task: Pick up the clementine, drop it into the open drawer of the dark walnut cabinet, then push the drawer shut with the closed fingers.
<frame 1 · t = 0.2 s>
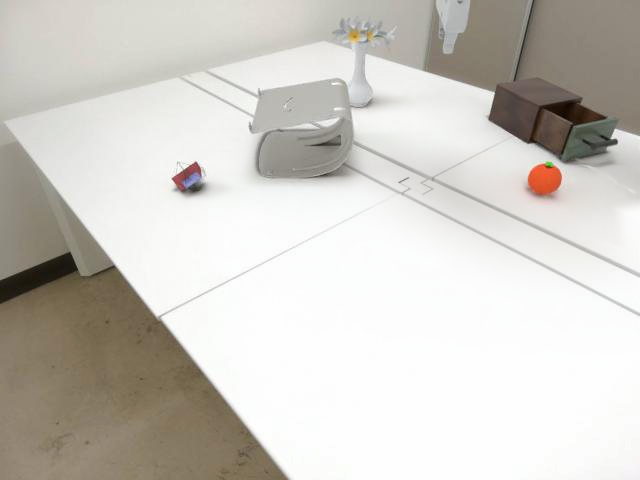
hand: (444, 45, 88), 31 cm above the table, tool pointing down, fingers open, 8 cm apart
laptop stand: (303, 154, 119), on the table
flower vase: (359, 103, 145), on the table
geometric puzzle: (191, 189, 106), on the table
clementine: (539, 191, 104), on the table
cabinet: (527, 126, 131), on the table
drawer: (574, 130, 116), point 5 cm above the table, slide at 11.0 cm
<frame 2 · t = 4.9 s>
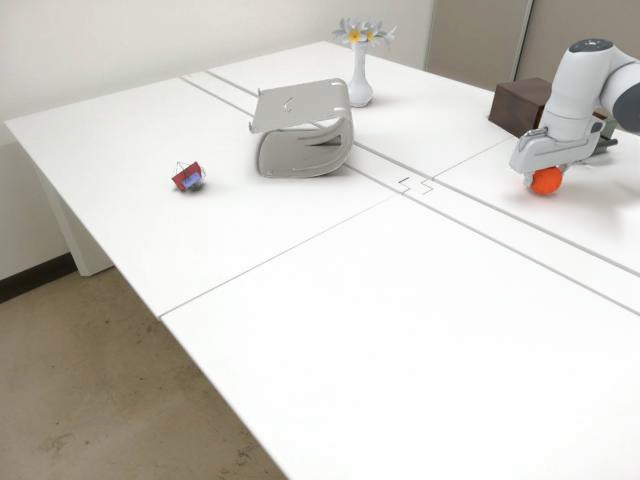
hand: (542, 181, 103), 3 cm above the table, tool pointing down, fingers closed on clementine, 7 cm apart
clementine: (539, 191, 104), on the table, touching gripper
everything else where it was.
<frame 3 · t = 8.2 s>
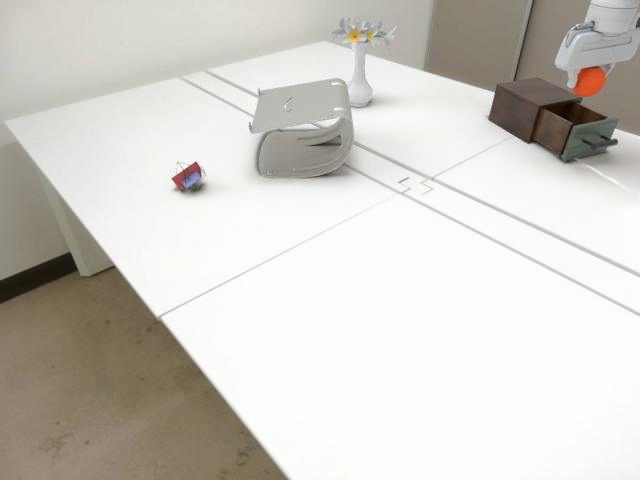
hand: (585, 84, 105), 19 cm above the table, tool pointing down, fingers closed on clementine, 7 cm apart
clementine: (582, 95, 107), point 16 cm above the table, touching gripper
everything else where it was.
when the fingers open (9 cm above the table, at t = 12.0 s): clementine stays where it is, resting on drawer.
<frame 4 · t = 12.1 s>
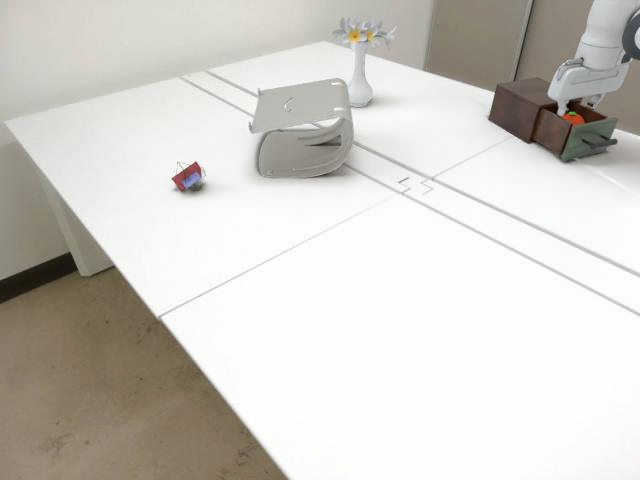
hand: (576, 112, 115), 10 cm above the table, tool pointing down, fingers open, 8 cm apart
clementine: (566, 139, 120), point 2 cm above the table, touching drawer
drawer: (574, 130, 116), point 5 cm above the table, slide at 10.9 cm, touching clementine
everything else where it was.
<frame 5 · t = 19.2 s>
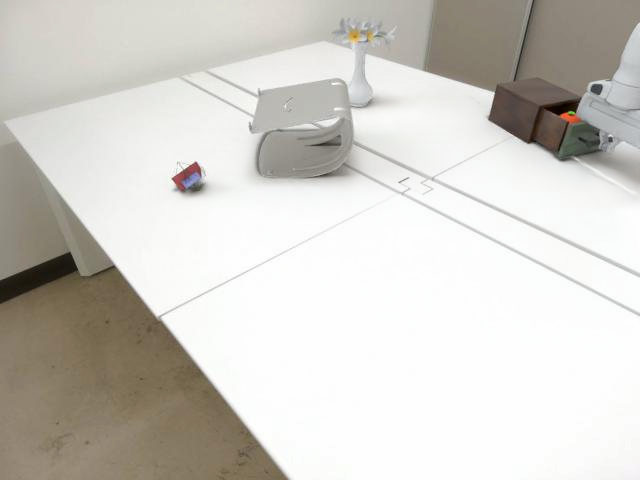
hand: (605, 150, 109), 5 cm above the table, tool pointing down, fingers closed
clementine: (562, 138, 121), point 2 cm above the table, touching drawer
drawer: (570, 129, 117), point 5 cm above the table, slide at 9.7 cm, touching clementine, gripper
everything else where it was.
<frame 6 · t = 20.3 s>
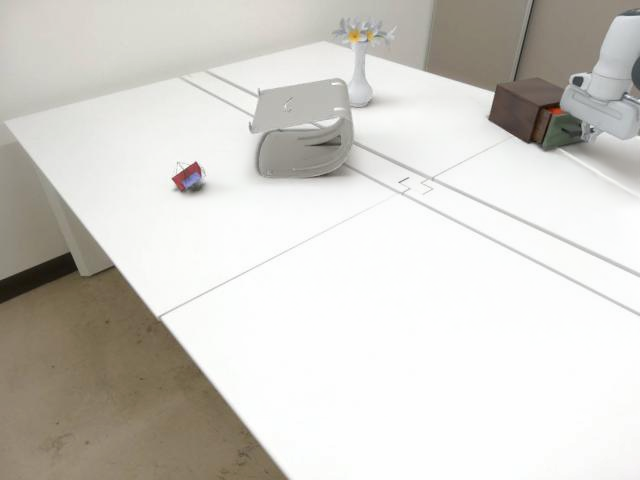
hand: (587, 140, 113), 5 cm above the table, tool pointing down, fingers closed
clementine: (547, 130, 125), point 2 cm above the table, touching drawer
drawer: (554, 120, 121), point 5 cm above the table, slide at 4.2 cm, touching clementine, gripper
everything else where it was.
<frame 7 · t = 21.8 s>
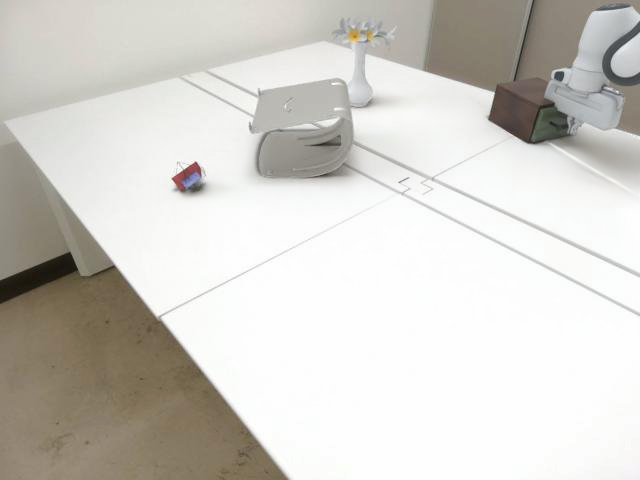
hand: (571, 133, 117), 4 cm above the table, tool pointing down, fingers closed, pressing on drawer
clementine: (536, 123, 128), point 2 cm above the table, touching drawer
drawer: (543, 114, 124), point 5 cm above the table, slide at 0.0 cm, touching cabinet, clementine, gripper
everything else where it was.
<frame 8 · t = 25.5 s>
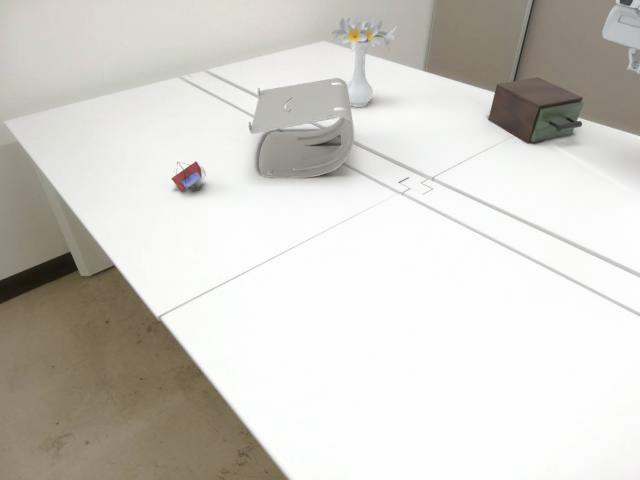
hand: (635, 71, 99), 23 cm above the table, tool pointing down, fingers closed
drawer: (543, 114, 124), point 5 cm above the table, slide at 0.0 cm, touching clementine
everything else where it was.
at the end: clementine inside the target area in the cabinet (2.1 cm from its centre), point 1.8 cm above the cabinet's base; drawer slide at 0.0 cm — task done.
